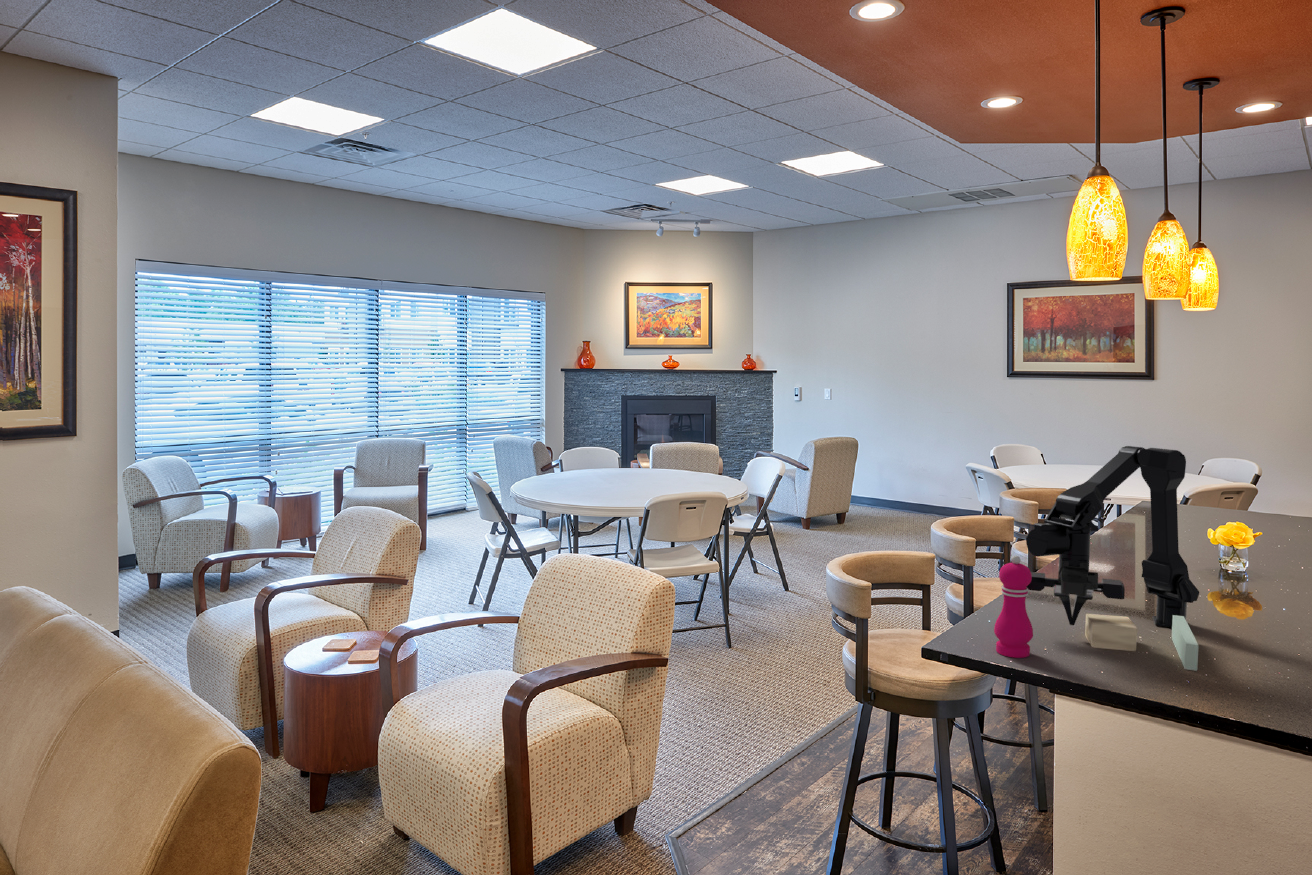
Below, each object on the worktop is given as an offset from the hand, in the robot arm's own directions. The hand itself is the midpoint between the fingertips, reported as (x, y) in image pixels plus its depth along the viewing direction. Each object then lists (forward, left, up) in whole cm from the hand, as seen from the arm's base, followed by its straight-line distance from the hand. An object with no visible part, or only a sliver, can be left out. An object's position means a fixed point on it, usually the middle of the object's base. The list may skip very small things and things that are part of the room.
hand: (1071, 624), depth 175 cm
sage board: (+1, +20, -3) cm, 20 cm away
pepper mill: (+15, -11, -3) cm, 19 cm away
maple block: (0, +7, -3) cm, 8 cm away
